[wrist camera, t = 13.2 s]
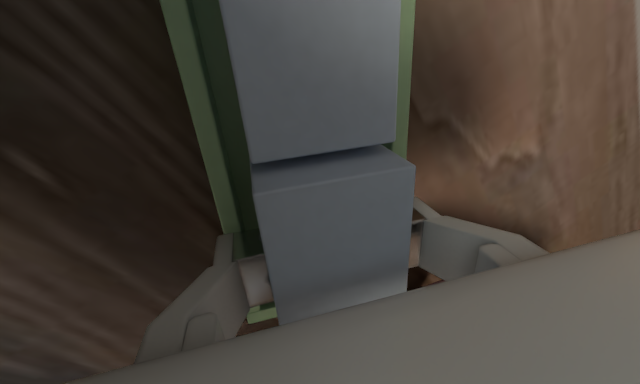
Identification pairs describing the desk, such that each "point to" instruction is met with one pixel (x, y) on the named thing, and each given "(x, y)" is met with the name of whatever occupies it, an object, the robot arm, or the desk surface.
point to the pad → (334, 228)
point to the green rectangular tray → (225, 116)
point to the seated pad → (314, 73)
